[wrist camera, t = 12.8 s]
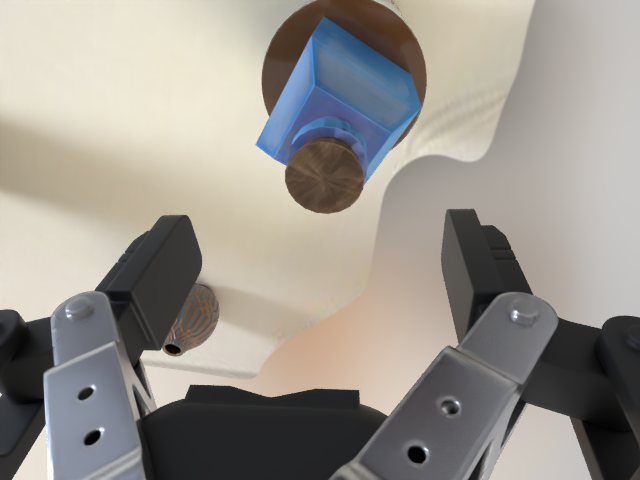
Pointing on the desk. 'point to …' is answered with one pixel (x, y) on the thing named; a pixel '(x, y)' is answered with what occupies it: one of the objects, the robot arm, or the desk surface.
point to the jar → (360, 21)
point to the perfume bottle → (337, 118)
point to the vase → (193, 322)
